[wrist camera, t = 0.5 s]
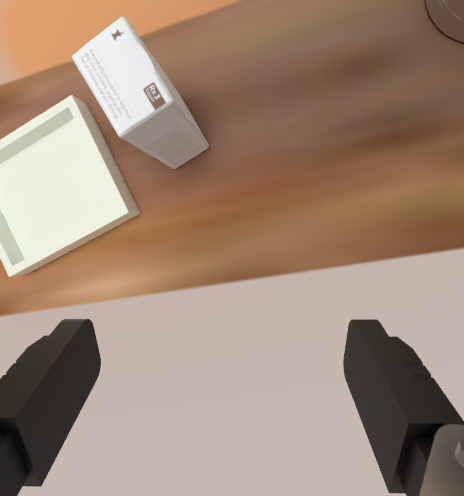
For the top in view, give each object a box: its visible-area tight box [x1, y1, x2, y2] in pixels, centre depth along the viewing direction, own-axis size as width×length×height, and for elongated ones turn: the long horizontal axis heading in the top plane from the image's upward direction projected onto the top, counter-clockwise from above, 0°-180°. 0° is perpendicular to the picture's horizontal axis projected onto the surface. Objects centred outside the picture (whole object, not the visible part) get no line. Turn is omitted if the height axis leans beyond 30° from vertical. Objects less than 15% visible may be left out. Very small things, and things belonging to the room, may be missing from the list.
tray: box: [0, 95, 140, 277], centre depth 33 cm, size 14×12×2 cm
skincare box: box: [72, 17, 209, 169], centre depth 26 cm, size 6×4×12 cm
